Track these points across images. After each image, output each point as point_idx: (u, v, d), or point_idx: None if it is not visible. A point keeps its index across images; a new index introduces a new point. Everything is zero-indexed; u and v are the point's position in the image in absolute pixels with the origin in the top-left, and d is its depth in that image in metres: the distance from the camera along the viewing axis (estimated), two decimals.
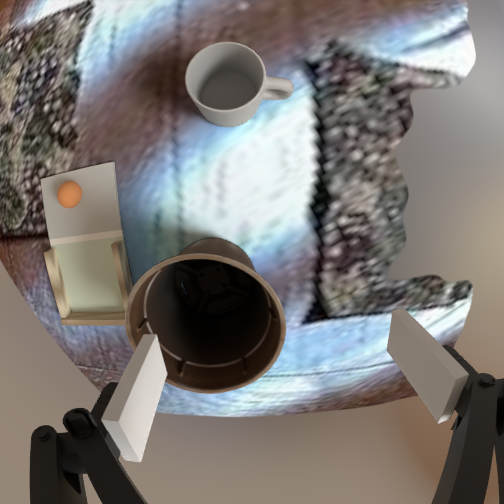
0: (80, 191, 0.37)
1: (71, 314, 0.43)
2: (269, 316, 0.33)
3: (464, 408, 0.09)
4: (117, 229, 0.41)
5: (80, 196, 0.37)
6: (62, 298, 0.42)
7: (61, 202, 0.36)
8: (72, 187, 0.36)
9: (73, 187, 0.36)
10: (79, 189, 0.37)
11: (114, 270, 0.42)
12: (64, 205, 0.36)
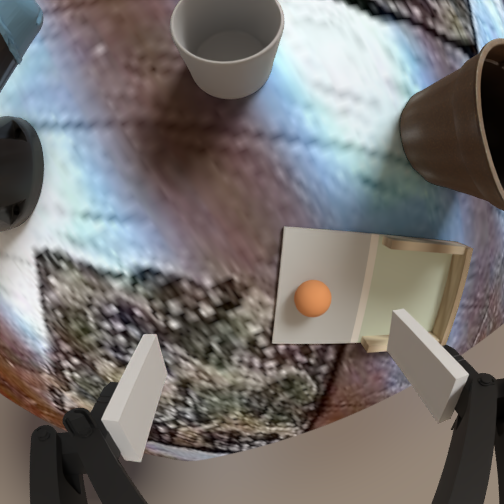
0: (314, 280, 0.31)
1: (435, 332, 0.35)
2: None
3: (464, 408, 0.09)
4: (369, 239, 0.32)
5: (320, 281, 0.31)
6: None
7: (323, 310, 0.30)
8: (307, 290, 0.30)
9: (308, 288, 0.30)
10: (311, 281, 0.31)
11: (411, 257, 0.33)
12: (328, 307, 0.30)
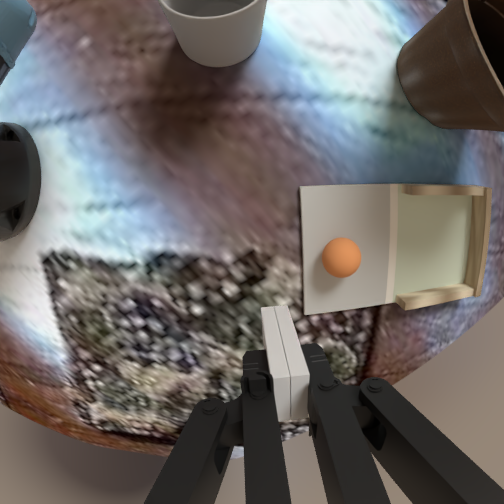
0: (340, 238, 0.29)
1: (468, 282, 0.32)
2: (487, 4, 0.13)
3: (314, 415, 0.11)
4: (389, 189, 0.29)
5: (346, 238, 0.29)
6: (454, 290, 0.31)
7: (355, 267, 0.28)
8: (335, 248, 0.28)
9: (335, 246, 0.28)
10: (337, 239, 0.28)
11: (433, 204, 0.30)
12: (359, 263, 0.28)
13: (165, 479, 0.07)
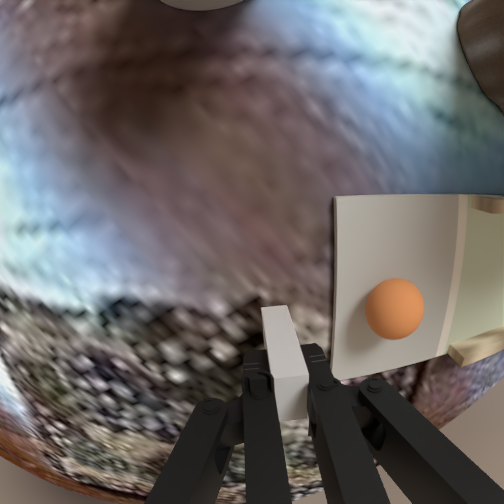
0: (395, 280, 0.17)
1: None
2: None
3: (313, 415, 0.11)
4: (457, 203, 0.18)
5: (405, 280, 0.17)
6: None
7: (417, 326, 0.16)
8: (391, 299, 0.16)
9: (392, 296, 0.16)
10: (392, 282, 0.17)
11: (503, 224, 0.18)
12: None
13: (166, 479, 0.07)
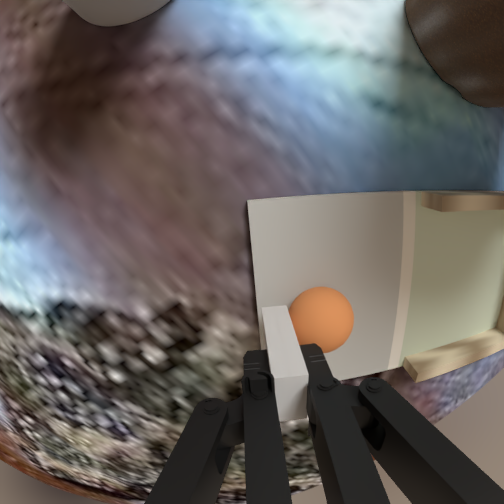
0: (318, 289, 0.17)
1: (501, 327, 0.20)
2: None
3: (313, 415, 0.11)
4: (401, 201, 0.17)
5: (330, 289, 0.17)
6: (484, 343, 0.19)
7: (343, 340, 0.16)
8: (308, 310, 0.16)
9: (309, 307, 0.16)
10: (313, 291, 0.17)
11: (466, 223, 0.18)
12: (350, 332, 0.16)
13: (166, 479, 0.07)
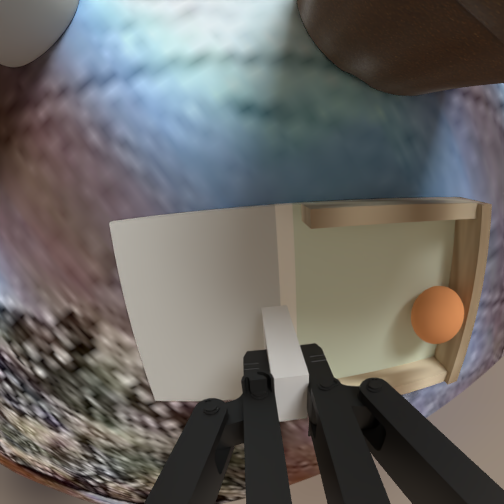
0: (445, 290, 0.16)
1: (439, 358, 0.20)
2: None
3: (313, 415, 0.11)
4: (273, 216, 0.17)
5: (435, 288, 0.17)
6: (410, 376, 0.19)
7: None
8: None
9: (456, 293, 0.17)
10: (449, 291, 0.16)
11: (373, 238, 0.18)
12: None
13: (166, 479, 0.07)
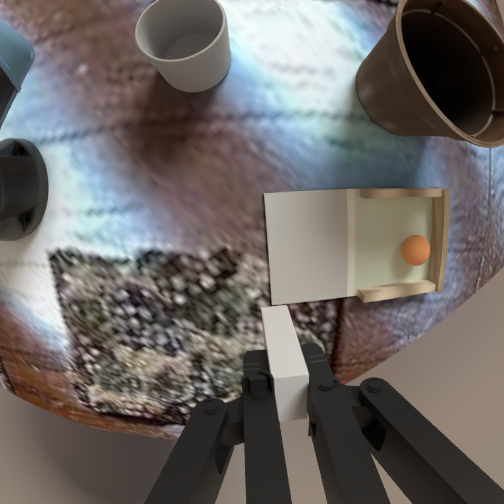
0: (416, 237, 0.34)
1: (431, 278, 0.37)
2: (439, 15, 0.18)
3: (313, 415, 0.11)
4: (346, 194, 0.35)
5: (414, 235, 0.34)
6: (415, 285, 0.36)
7: None
8: (427, 243, 0.33)
9: (426, 242, 0.33)
10: (418, 238, 0.33)
11: (390, 206, 0.35)
12: None
13: (166, 479, 0.07)
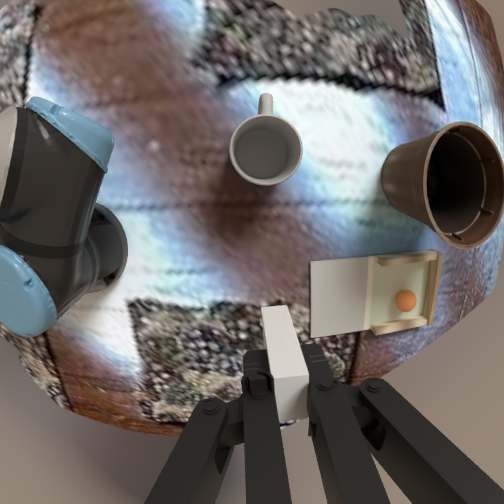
0: (404, 292, 0.47)
1: (424, 314, 0.50)
2: (454, 134, 0.31)
3: (313, 415, 0.11)
4: (367, 260, 0.47)
5: (407, 290, 0.47)
6: (412, 321, 0.49)
7: None
8: (408, 300, 0.46)
9: (408, 299, 0.46)
10: (404, 294, 0.47)
11: (398, 267, 0.48)
12: None
13: (166, 479, 0.07)
